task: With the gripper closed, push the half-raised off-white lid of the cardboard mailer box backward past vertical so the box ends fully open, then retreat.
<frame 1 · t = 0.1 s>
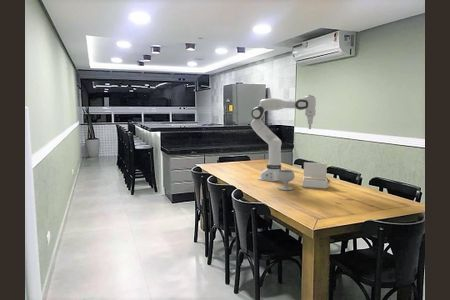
hand: (309, 128, 295), 48 cm above the table, fingers open, 8 cm apart
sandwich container: (320, 180, 304), on the table
lid: (315, 170, 283), point 13 cm above the table, hinge at 72.0°
chalice: (285, 189, 269), on the table
mailer box: (314, 186, 280), on the table
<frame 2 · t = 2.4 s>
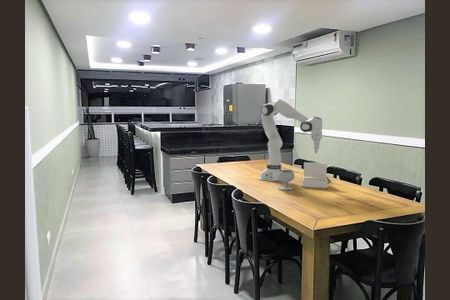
hand: (315, 153, 273), 29 cm above the table, fingers closed
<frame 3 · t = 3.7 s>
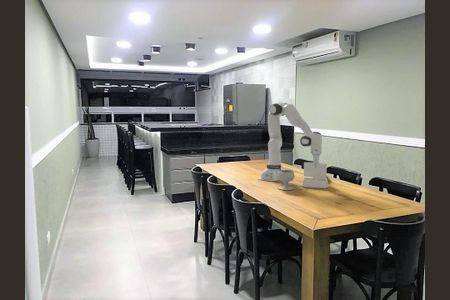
hand: (315, 167, 275), 17 cm above the table, fingers closed
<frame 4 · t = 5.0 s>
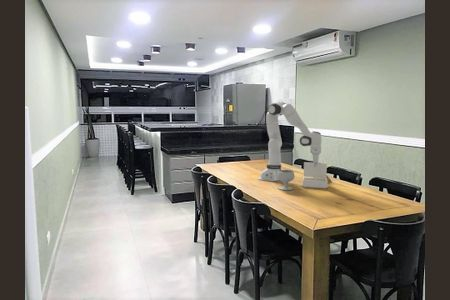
hand: (315, 166, 279), 17 cm above the table, fingers closed
lid: (315, 170, 283), point 13 cm above the table, hinge at 72.8°, touching gripper
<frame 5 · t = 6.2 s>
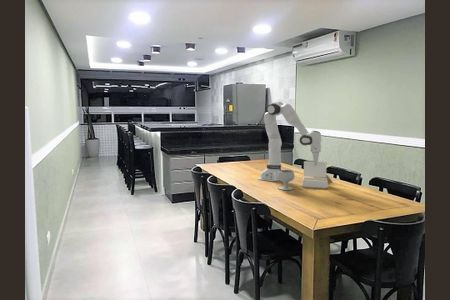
hand: (315, 165, 286), 17 cm above the table, fingers closed
lid: (314, 169, 287), point 13 cm above the table, hinge at 102.1°, touching gripper
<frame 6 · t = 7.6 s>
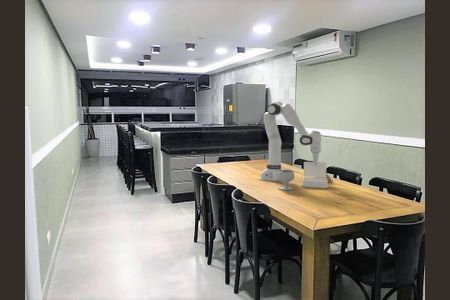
hand: (315, 165, 288), 17 cm above the table, fingers closed
lid: (314, 169, 288), point 13 cm above the table, hinge at 116.3°, touching gripper
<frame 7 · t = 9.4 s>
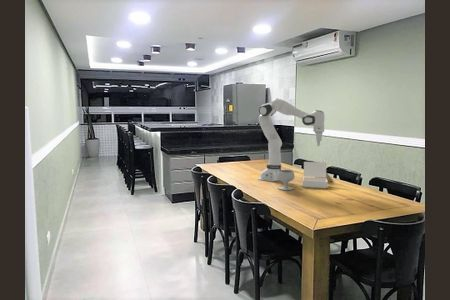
hand: (318, 145, 279), 34 cm above the table, fingers closed
lid: (314, 169, 288), point 13 cm above the table, hinge at 116.4°
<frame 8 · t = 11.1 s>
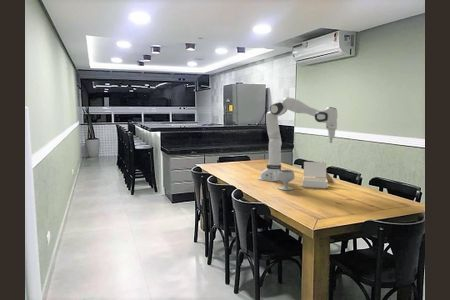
hand: (330, 143, 276), 37 cm above the table, fingers closed
at the end: lid at +116° (first picture: +72°) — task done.
